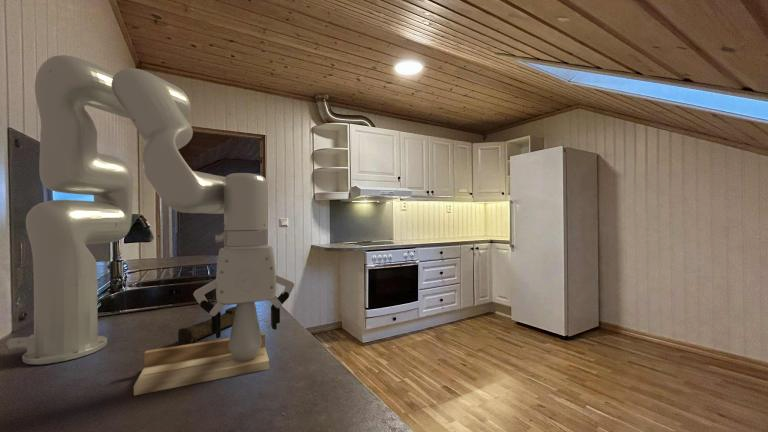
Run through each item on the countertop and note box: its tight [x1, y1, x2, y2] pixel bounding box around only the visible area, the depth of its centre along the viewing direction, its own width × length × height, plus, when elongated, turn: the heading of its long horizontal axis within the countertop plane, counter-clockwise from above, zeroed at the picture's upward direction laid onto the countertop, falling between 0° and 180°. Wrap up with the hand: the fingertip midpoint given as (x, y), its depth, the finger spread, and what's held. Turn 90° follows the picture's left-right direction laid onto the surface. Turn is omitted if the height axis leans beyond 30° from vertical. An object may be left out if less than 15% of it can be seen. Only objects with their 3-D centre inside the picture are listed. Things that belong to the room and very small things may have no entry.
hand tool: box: [177, 305, 236, 346], centre depth 80 cm, size 19×4×5 cm, turn 160°
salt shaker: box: [228, 302, 262, 362], centre depth 61 cm, size 6×6×13 cm
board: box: [133, 332, 270, 396], centre depth 60 cm, size 20×10×4 cm, turn 115°
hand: (247, 331), depth 61 cm, fingers open, 9 cm apart
